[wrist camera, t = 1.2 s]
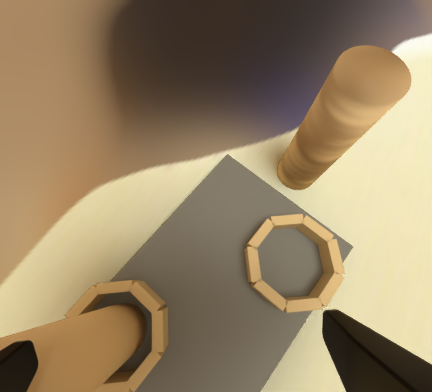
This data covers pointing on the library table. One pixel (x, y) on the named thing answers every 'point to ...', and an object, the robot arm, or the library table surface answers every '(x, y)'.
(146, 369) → the board
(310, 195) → the library table surface
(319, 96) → the pin
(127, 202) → the library table surface
